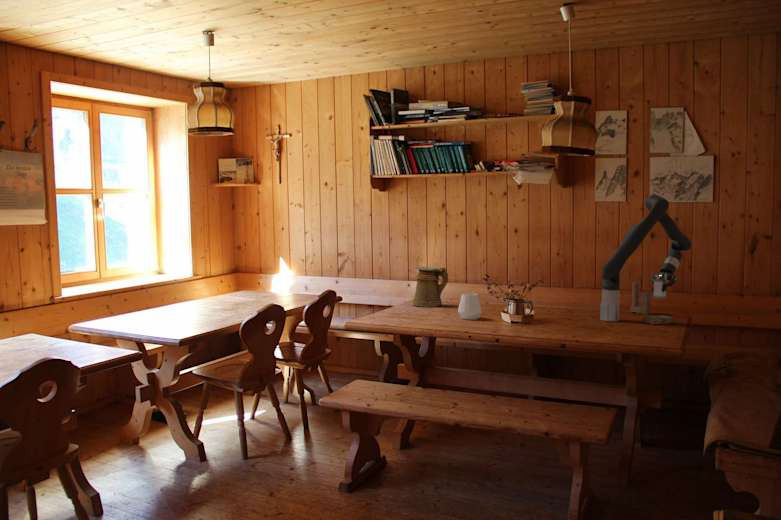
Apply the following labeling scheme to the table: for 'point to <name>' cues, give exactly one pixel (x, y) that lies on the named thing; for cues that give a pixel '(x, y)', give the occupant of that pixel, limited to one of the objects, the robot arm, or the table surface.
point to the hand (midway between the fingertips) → (658, 290)
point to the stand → (658, 320)
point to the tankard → (429, 286)
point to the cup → (469, 306)
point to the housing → (659, 288)
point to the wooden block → (640, 300)
